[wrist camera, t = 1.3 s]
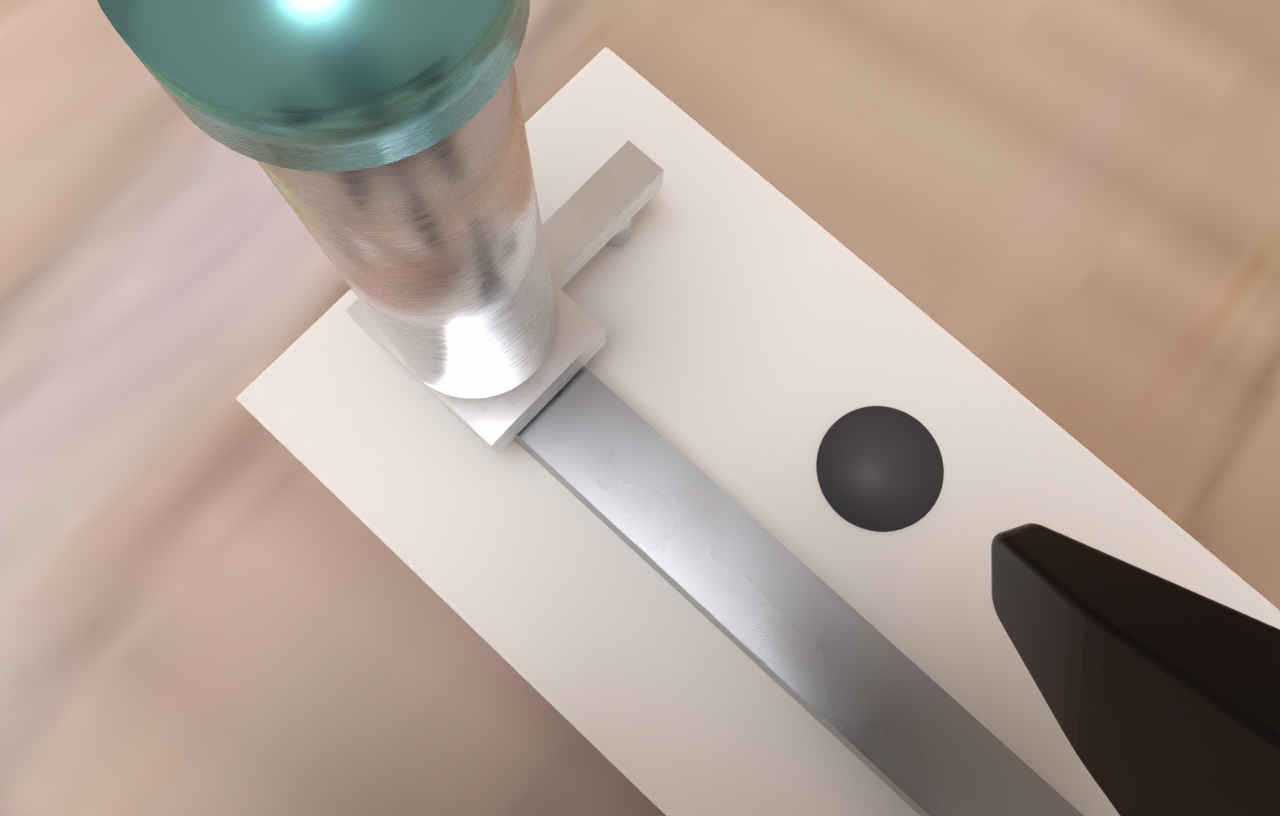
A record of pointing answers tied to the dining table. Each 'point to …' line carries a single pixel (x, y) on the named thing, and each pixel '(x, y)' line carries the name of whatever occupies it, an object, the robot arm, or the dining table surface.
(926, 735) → the rail
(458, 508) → the bolt plate
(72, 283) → the dining table surface
